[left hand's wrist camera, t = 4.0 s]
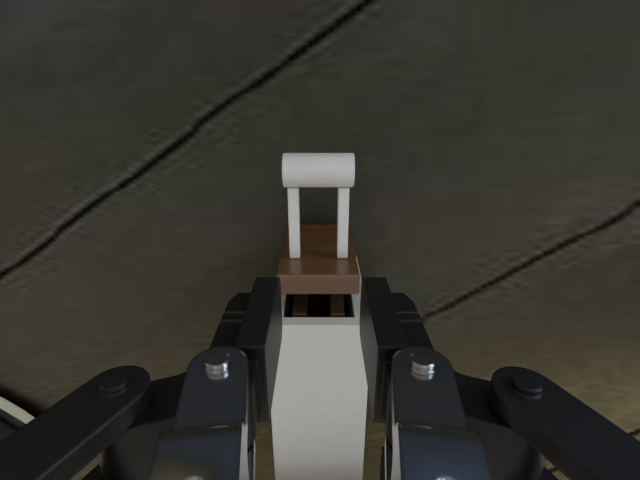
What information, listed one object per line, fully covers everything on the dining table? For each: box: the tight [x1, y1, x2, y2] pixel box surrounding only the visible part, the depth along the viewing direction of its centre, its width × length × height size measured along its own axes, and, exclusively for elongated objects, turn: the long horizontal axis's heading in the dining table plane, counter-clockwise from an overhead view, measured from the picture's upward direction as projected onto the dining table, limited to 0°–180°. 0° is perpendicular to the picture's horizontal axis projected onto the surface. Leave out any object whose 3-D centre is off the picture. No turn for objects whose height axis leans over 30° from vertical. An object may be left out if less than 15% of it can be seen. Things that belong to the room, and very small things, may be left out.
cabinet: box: [271, 251, 368, 480], centre depth 28 cm, size 17×6×10 cm, turn 0°
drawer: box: [277, 153, 360, 317], centre depth 26 cm, size 22×4×8 cm, turn 0°
